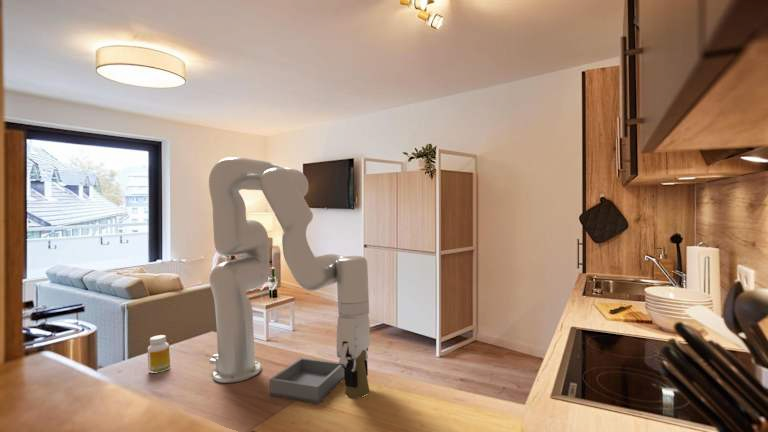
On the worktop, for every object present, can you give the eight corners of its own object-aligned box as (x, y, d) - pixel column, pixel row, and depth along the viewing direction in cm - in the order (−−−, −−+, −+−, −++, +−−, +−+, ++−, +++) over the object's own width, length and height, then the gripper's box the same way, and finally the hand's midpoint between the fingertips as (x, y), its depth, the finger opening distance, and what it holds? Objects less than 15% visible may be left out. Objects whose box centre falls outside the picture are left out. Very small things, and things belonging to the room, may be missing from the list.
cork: (366, 399, 89) (364, 353, 89) (341, 397, 90) (339, 351, 90) (371, 386, 95) (370, 343, 95) (348, 385, 96) (347, 342, 96)
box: (270, 395, 92) (269, 379, 92) (301, 371, 105) (300, 357, 105) (318, 404, 88) (317, 387, 87) (345, 378, 100) (344, 363, 100)
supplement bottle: (174, 368, 111) (172, 335, 110) (154, 375, 106) (152, 341, 106) (164, 364, 114) (162, 332, 113) (145, 371, 109) (143, 338, 109)
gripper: (354, 297, 101) (357, 364, 102) (322, 316, 85) (325, 395, 86) (380, 299, 99) (383, 368, 99) (352, 318, 83) (355, 400, 83)
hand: (356, 380), depth 92 cm, fingers open, 5 cm apart
